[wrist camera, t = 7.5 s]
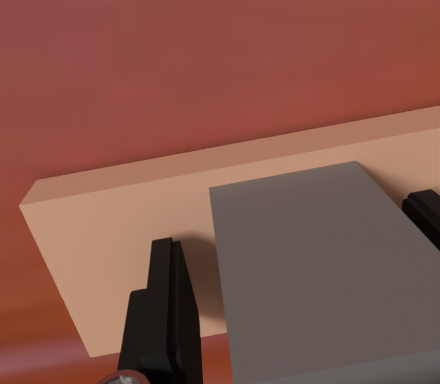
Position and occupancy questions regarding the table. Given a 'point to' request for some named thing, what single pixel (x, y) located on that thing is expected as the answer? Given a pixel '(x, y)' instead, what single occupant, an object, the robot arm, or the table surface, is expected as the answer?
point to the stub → (266, 249)
